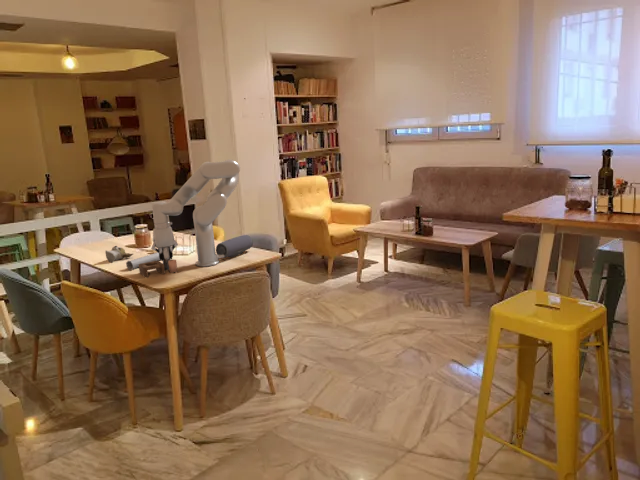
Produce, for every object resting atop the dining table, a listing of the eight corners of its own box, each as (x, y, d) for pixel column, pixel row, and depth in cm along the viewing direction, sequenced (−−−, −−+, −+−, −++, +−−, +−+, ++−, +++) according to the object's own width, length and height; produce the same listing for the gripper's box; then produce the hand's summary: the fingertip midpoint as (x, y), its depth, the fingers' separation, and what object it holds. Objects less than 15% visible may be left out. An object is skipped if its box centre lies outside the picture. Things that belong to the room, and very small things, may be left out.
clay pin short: (176, 270, 266) (174, 259, 265) (178, 271, 263) (177, 260, 261) (168, 271, 264) (167, 260, 262) (170, 273, 261) (169, 262, 259)
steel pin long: (170, 267, 272) (167, 245, 269) (172, 268, 269) (169, 246, 266) (162, 268, 270) (159, 246, 267) (165, 270, 267) (162, 248, 264)
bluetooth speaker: (241, 249, 302) (240, 233, 300) (254, 251, 297) (253, 234, 295) (215, 259, 283) (214, 241, 281) (228, 260, 278) (227, 243, 276)
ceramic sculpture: (99, 247, 289) (121, 242, 302) (100, 261, 291) (122, 256, 303) (111, 248, 284) (133, 244, 296) (112, 263, 285) (134, 258, 298)
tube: (160, 251, 293) (124, 261, 272) (166, 249, 291) (130, 259, 270) (163, 259, 294) (128, 271, 273) (169, 257, 291) (134, 269, 270)
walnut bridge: (158, 269, 269) (157, 260, 268) (164, 273, 261) (163, 264, 260) (139, 273, 264) (138, 264, 262) (145, 277, 255) (144, 268, 254)
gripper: (175, 222, 272) (179, 255, 276) (143, 227, 263) (148, 261, 267) (180, 224, 266) (184, 257, 270) (148, 229, 257) (152, 264, 261)
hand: (166, 259), depth 268 cm, fingers closed on steel pin long, 4 cm apart
